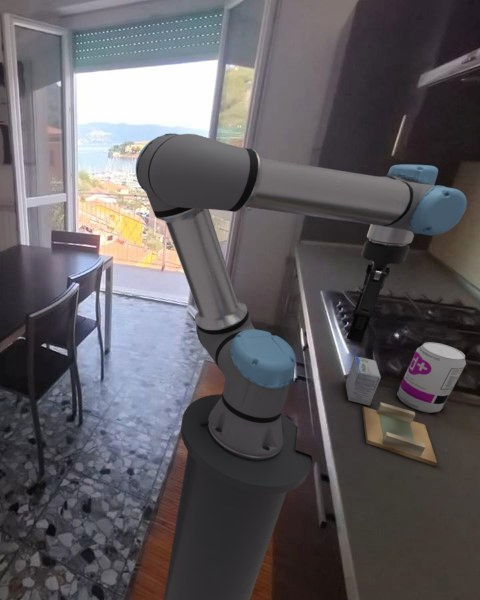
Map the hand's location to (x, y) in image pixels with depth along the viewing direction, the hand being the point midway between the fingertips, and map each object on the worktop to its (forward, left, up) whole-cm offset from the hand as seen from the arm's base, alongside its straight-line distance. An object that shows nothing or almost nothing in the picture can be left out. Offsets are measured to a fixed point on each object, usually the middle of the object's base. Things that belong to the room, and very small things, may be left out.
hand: (356, 328), depth 85 cm
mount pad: (+11, -13, -17) cm, 24 cm away
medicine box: (+4, -1, -18) cm, 18 cm away
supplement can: (+17, +3, -18) cm, 24 cm away
